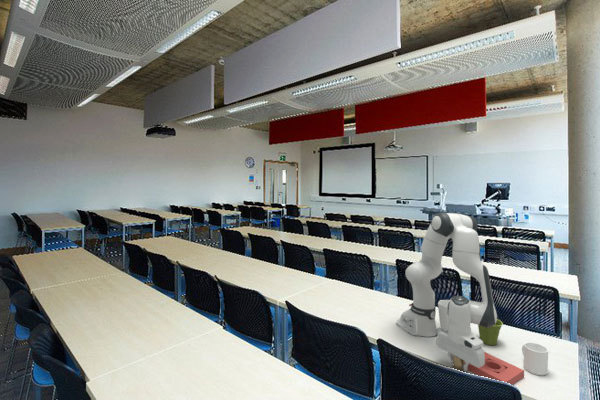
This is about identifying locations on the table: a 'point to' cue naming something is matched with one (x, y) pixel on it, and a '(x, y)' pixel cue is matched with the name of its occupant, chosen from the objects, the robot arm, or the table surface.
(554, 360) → the table surface
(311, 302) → the table surface
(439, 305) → the cup
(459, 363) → the tan cylinder plug
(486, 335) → the plant pot
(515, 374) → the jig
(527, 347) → the mug
